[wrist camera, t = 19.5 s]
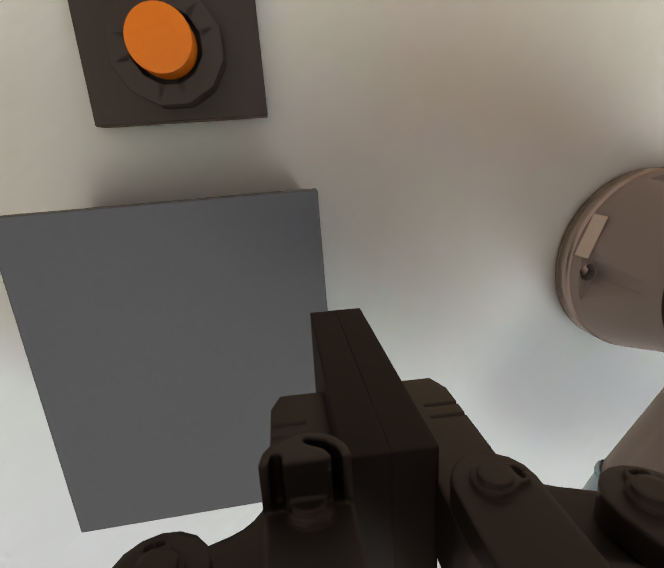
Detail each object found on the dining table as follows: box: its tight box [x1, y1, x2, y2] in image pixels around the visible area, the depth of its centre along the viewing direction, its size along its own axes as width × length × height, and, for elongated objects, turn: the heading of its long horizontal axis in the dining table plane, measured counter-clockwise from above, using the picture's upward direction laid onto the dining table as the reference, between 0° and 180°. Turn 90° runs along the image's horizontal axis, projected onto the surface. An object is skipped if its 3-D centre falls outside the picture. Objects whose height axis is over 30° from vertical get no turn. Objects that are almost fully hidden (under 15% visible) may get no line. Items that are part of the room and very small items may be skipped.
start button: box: [123, 0, 198, 80], centre depth 24 cm, size 4×4×2 cm
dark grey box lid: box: [0, 188, 327, 532], centre depth 22 cm, size 18×15×1 cm
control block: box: [68, 0, 267, 128], centre depth 27 cm, size 8×11×4 cm
